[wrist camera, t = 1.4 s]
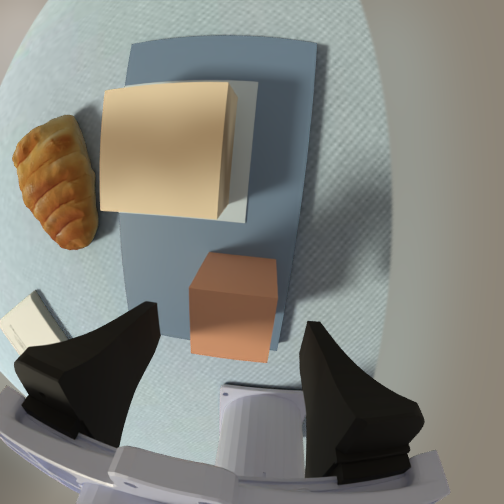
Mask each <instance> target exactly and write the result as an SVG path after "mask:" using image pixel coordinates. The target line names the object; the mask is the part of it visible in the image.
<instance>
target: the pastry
mask: <svg viewBox="0 0 504 504" xmlns="http://www.w3.org/2000/svg"><path fill="white" fill-rule="evenodd" d="M12 160H13V162H14V166H15V167H16V168H17V175H18V178H19V186H20V190H21V191H22V196H23V201H24V203H25V205H26V207H27V208H29V209H30V210H31V212H32V213H33V215H34V216H35V218H36V219H38V220H39V221H40V223H41V225H42V227H43V229H44V230H45V231H46V232H47V233H48V234H49V235H50V237H51V238H52V239H53V240H54V241H55V242H57V243H58V244H59V246H60V247H61V248H64V249H68V250H78V249H82V248H84V247H87V246H88V245H89V244H90V243H91V242H92V240H93V238H94V236H95V234H96V231H97V228H98V223H99V222H98V212H97V209H96V194H95V183H96V177H95V172H94V171H93V170H92V168H91V162H90V159H89V156H88V152H87V147H86V143H85V140H84V137H83V135H82V132H81V130H80V127H79V125H78V122H77V121H76V119H75V118H74V116H72V115H63V116H60V117H57V118H54V119H52V120H50V121H48V122H47V123H46V124H44V125H41V126H38V127H36V128H34V129H32V130H31V131H30V132H29V133H28V134H26V135H25V136H24V137H23V138H22V139H21V140H20V141H19V142H18V144H17V146H16V150H15V152H14V154H13V157H12Z"/></svg>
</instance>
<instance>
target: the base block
mask: <svg viewBox="0 0 504 504" xmlns="http://www.w3.org/2000/svg"><path fill="white" fill-rule="evenodd" d="M237 101H238V97H237V95H236V94H235V92H234V90H233V89H232V87H231V85H230V84H229V82H182V83H164V84H152V85H142V86H133V87H126V88H119V89H112V90H106V91H105V95H104V103H103V113H102V125H101V141H100V210H101V211H113V212H128V213H143V214H156V215H169V216H181V217H193V218H204V219H215V220H217V219H218V218H219V216H220V215H221V214H222V212H223V211H224V209H225V208H226V207H227V205H228V204H229V190H230V178H231V165H232V154H233V142H234V131H235V121H236V110H237Z"/></svg>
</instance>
